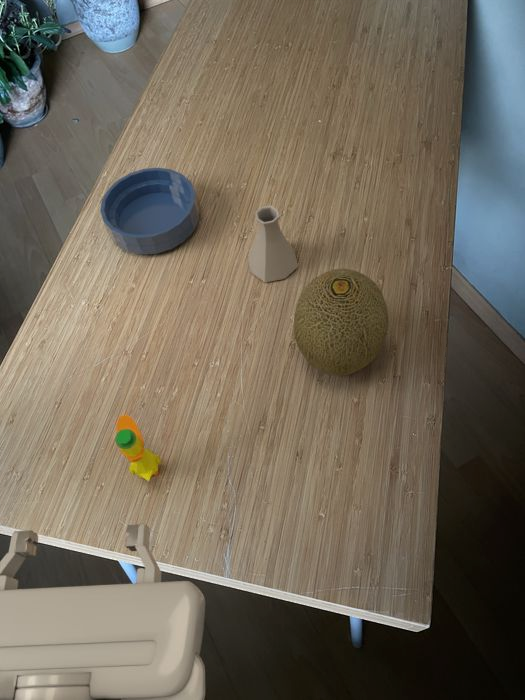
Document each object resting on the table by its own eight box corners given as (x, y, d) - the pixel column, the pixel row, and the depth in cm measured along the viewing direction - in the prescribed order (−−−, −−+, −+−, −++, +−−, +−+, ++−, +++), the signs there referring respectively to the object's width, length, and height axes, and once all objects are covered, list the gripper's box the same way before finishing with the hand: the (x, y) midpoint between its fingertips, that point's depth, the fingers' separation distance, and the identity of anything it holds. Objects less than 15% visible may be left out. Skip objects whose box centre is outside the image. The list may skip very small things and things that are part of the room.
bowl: (105, 261, 89) (95, 241, 85) (114, 193, 96) (106, 172, 92) (199, 253, 88) (193, 233, 84) (201, 185, 95) (196, 163, 91)
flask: (239, 256, 87) (230, 207, 78) (283, 236, 88) (278, 186, 79) (262, 290, 83) (255, 243, 75) (307, 269, 84) (305, 220, 76)
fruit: (299, 315, 80) (295, 242, 68) (383, 319, 79) (395, 245, 66) (292, 390, 75) (286, 325, 62) (382, 395, 73) (395, 330, 60)
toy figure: (129, 449, 73) (97, 407, 62) (156, 438, 73) (129, 394, 63) (144, 499, 69) (113, 463, 59) (172, 487, 70) (146, 449, 59)
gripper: (196, 726, 38) (201, 510, 45) (-111, 737, 39) (-58, 525, 46) (212, 724, 43) (214, 531, 50) (-58, 733, 44) (-18, 544, 51)
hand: (82, 529), depth 48 cm, fingers open, 8 cm apart
